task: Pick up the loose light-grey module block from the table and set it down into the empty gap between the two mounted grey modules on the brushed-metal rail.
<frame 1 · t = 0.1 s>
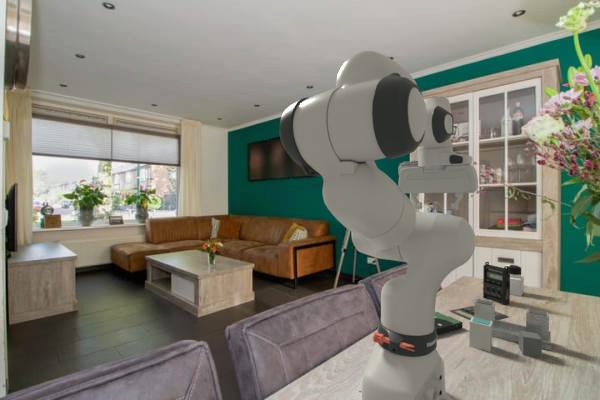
hand: (436, 209, 83), 39 cm above the table, tool pointing down, fingers open, 8 cm apart
geiger counter: (494, 301, 121), on the table
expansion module: (480, 346, 85), on the table
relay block: (529, 353, 81), on the table
rail: (509, 336, 90), on the table
medicine bottle: (512, 293, 131), on the table
calculator: (478, 315, 107), on the table
disk drive: (433, 328, 97), on the table
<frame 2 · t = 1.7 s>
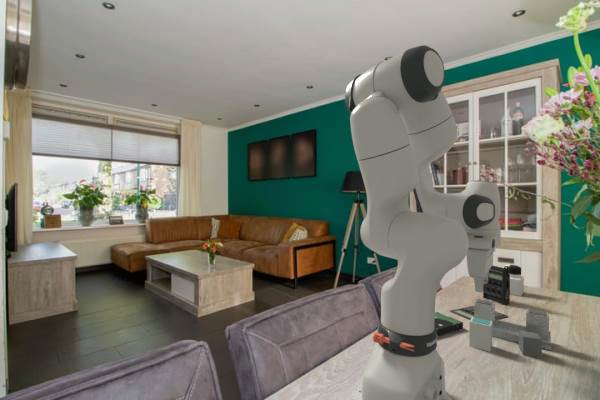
hand: (481, 287, 84), 17 cm above the table, tool pointing down, fingers open, 8 cm apart
nothing on the table moved.
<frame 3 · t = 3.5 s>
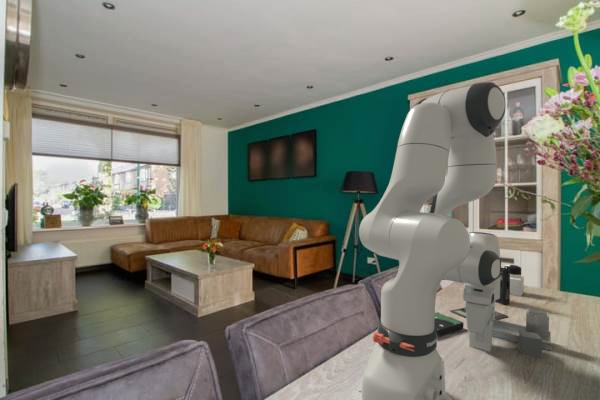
hand: (480, 337, 84), 2 cm above the table, tool pointing down, fingers closed on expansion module, 4 cm apart
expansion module: (480, 345, 85), on the table, touching gripper
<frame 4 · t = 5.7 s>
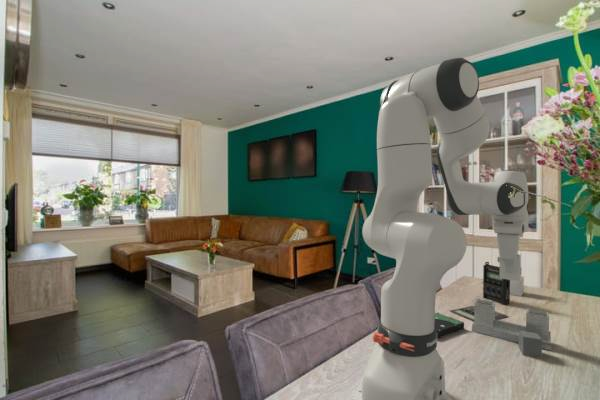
hand: (510, 270, 90), 20 cm above the table, tool pointing down, fingers closed on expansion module, 4 cm apart
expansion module: (510, 278, 90), point 18 cm above the table, touching gripper
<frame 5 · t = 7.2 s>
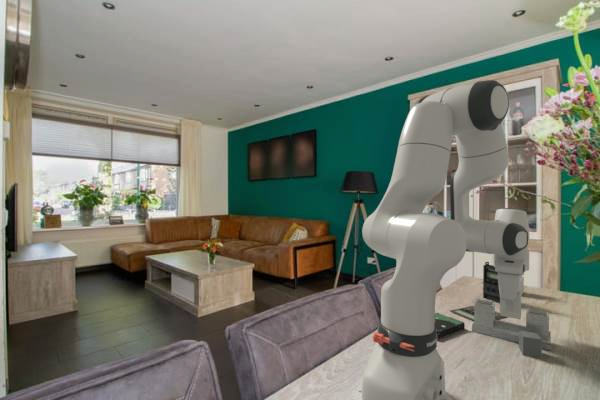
hand: (510, 307, 90), 9 cm above the table, tool pointing down, fingers closed on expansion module, 4 cm apart
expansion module: (510, 315, 90), point 7 cm above the table, touching gripper
when the fingers open (5 cm above the table, at t = 8.1 s): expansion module stays where it is, resting on rail.
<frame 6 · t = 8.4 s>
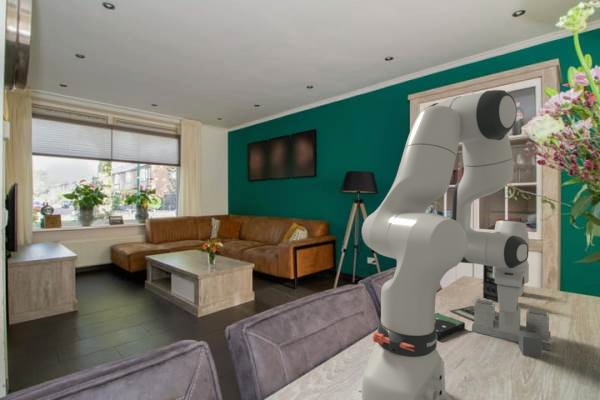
hand: (509, 319, 90), 5 cm above the table, tool pointing down, fingers open, 7 cm apart
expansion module: (509, 330, 90), point 2 cm above the table, touching rail
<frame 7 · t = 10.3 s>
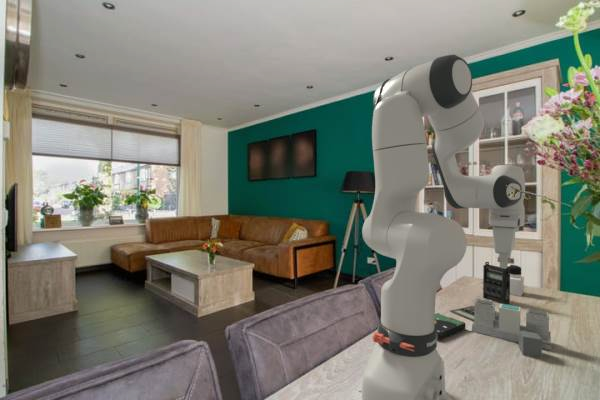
hand: (505, 265, 90), 22 cm above the table, tool pointing down, fingers open, 8 cm apart
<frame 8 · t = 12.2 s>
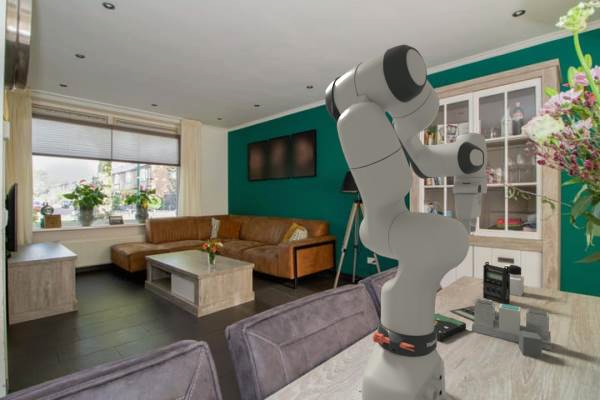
hand: (469, 233, 91), 31 cm above the table, tool pointing down, fingers open, 8 cm apart
at the end: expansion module 0.2 cm off-centre on the rail, point 2.0 cm above the rail's base; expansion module tilted 0°; the gripper is holding nothing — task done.
